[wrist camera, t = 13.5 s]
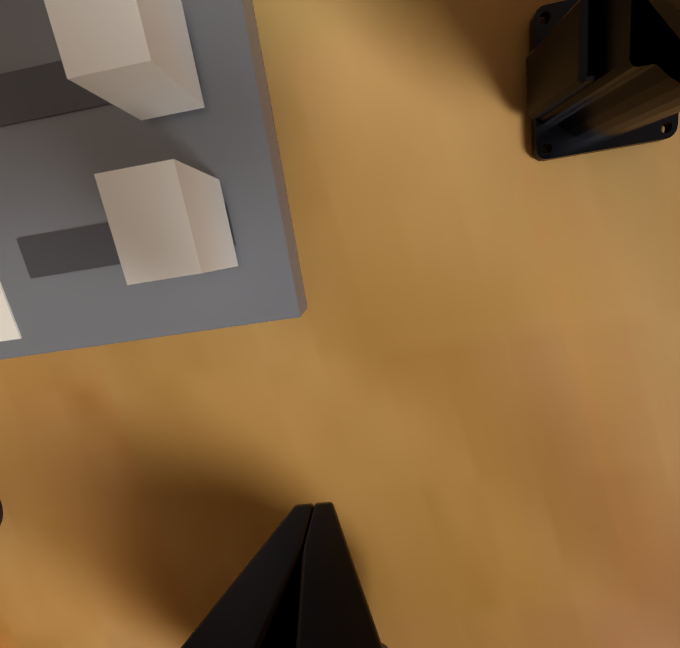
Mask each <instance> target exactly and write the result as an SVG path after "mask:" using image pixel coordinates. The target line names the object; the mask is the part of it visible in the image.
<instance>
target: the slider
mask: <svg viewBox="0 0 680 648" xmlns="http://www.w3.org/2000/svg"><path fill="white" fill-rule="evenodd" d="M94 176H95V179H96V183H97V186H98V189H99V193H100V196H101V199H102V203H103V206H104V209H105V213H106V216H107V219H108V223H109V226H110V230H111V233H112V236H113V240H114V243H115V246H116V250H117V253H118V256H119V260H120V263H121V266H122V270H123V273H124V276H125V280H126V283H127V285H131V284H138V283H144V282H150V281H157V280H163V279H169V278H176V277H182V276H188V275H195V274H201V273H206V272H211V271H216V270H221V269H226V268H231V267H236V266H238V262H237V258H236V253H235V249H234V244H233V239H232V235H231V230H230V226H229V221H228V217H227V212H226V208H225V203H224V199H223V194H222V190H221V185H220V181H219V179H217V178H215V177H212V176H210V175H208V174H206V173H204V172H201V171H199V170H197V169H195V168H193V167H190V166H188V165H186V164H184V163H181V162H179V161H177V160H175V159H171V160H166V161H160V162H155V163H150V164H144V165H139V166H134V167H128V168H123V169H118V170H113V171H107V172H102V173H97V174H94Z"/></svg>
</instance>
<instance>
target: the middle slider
mask: <svg viewBox="0 0 680 648" xmlns="http://www.w3.org/2000/svg"><path fill="white" fill-rule="evenodd" d="M44 3H45V6H46V9H47V13H48V16H49V20H50V23H51V26H52V30H53V33H54V36H55V40H56V43H57V46H58V50H59V53H60V56H61V60H62V63H63V67H64V70H65V73H66V77H67V79H69V80H70V81H72V82H74V83H76V84H77V85H79V86H81V87H83V88H85V89H86V90H88V91H90V92H92V93H93V94H95V95H97V96H99V97H101V98H102V99H104V100H106V101H108V102H109V103H111V104H113V105H115V106H117V107H118V108H120V109H122V110H124V111H125V112H127V113H129V114H131V115H133V116H134V117H136V118H138V119H140V120H146V119H151V118H156V117H161V116H166V115H170V114H175V113H180V112H185V111H190V110H195V109H200V108H205V107H204V102H203V98H202V93H201V89H200V84H199V79H198V75H197V70H196V66H195V61H194V57H193V52H192V48H191V43H190V39H189V34H188V29H187V25H186V20H185V16H184V11H183V7H182V2H181V0H44Z"/></svg>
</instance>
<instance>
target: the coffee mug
mask: <svg viewBox="0 0 680 648" xmlns="http://www.w3.org/2000/svg"><path fill="white" fill-rule="evenodd" d="M2 517H3V510H2V505H1V502H0V524H1V522H2Z"/></svg>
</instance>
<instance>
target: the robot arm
mask: <svg viewBox="0 0 680 648" xmlns="http://www.w3.org/2000/svg"><path fill="white" fill-rule="evenodd" d="M540 17H544V18H545V19H546V24H542V23H540V20H539V18H540ZM526 68H527V108H528V116H529V117H530V118H531V119H532V153H533V156H534V158H535V159H536V160H538V161H546V160H552V159H558V158H564V157H570V156H575V155H581V154H587V153H593V152H599V151H605V150H610V149H616V148H622V147H628V146H634V145H640V144H645V143H651V142H657V141H661V140H664V139H667V138H669V137H671V136H672V135H673V134H674V133H675V132H676V130H677V126H678V113H679V112H680V0H566V1H562V2H557V3H552V4H547V5H544V6H541V7H540V8H539V9H538V10H537V11H536V12H535V14H534V15H533V16H532V18H531V20H530V55H529V56H528V57H527V59H526ZM662 125H663V126H664V127H665V131H664V133H663V132H662V131H661V126H662ZM543 145H546V146H547V148H548V152H547V153H546V154H544V153H543V152H542V146H543ZM181 648H383V647H382V644H381V641H380V638H379V635H378V632H377V629H376V627H375V624H374V621H373V618H372V615H371V612H370V609H369V606H368V603H367V600H366V598H365V595H364V592H363V589H362V586H361V583H360V580H359V577H358V574H357V571H356V569H355V566H354V563H353V560H352V557H351V554H350V551H349V548H348V545H347V542H346V540H345V537H344V534H343V531H342V528H341V525H340V522H339V519H338V516H337V513H336V511H335V508H334V505H333V503H332V502H324V503H316V504H315V505H313V504H311V503H310V504H298V505H296V506H294V507H293V509H292V510H291V511H290V512H289V514H288V515H287V516H286V517H285V519H284V520H283V521H282V522H281V524H280V525H279V526H278V527H277V529H276V530H275V531H274V532H273V534H272V535H271V536H270V537H269V539H268V540H267V541H266V542H265V544H264V545H263V546H262V547H261V549H260V550H259V551H258V552H257V554H256V555H255V556H254V557H253V558H252V560H251V561H250V562H249V563H248V565H247V566H246V567H245V568H244V570H243V571H242V572H241V573H240V575H239V576H238V577H237V578H236V580H235V581H234V582H233V583H232V585H231V586H230V587H229V588H228V590H227V591H226V592H225V593H224V595H223V596H222V597H221V598H220V600H219V601H218V602H217V603H216V605H215V606H214V607H213V608H212V610H211V611H210V612H209V613H208V615H207V616H206V617H205V618H204V620H203V621H202V622H201V623H200V624H199V626H198V627H197V628H196V629H195V631H194V632H193V633H192V634H191V636H190V637H189V638H188V639H187V641H186V642H185V643H184V644H183V646H182V647H181Z"/></svg>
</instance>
